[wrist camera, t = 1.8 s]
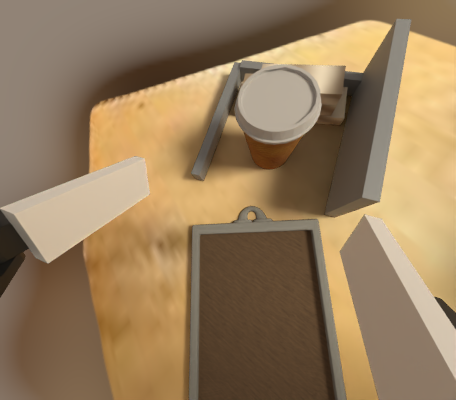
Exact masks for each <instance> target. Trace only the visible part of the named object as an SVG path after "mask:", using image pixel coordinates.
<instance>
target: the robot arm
mask: <svg viewBox="0 0 456 400" xmlns="http://www.w3.org/2000/svg"><path fill="white" fill-rule="evenodd" d="M148 195H150V190H149V184H148V177H147V170H146V164H145V159H144V158H141V157H137V156H134V157H131V158H129V159H126V160H124V161H121V162H118V163H116V164H113V165H111V166H108V167H105V168H103V169H100V170H98V171H95V172H92V173H90V174H87V175H85V176H82V177H79V178H77V179H74V180H72V181H69V182H67V183H64V184H61V185H59V186H56V187H53V188H51V189H49V190H46V191H43V192H41V193H38V194H35V195H33V196H30V197H27V198H25V199H22V200H20V201H17V202H15V203H12V204H9V205H7V206H4V207H1V208H0V297H1V295H2V294H3V293H4V291H5V289H6V288H7V286H8V285H9V283H10V281H11V280H12V278H13V277H14V275H15V274H16V272H17V270H18V269H19V267H20V266H21V264H22V262H23V261H24V259H25V254H24V253H23V252H24V251H25V250H27V249H30V251H31V252H32V253H33V255H34V256H35V258H37V259H39V260H41V261H43V262H46V263H49V262H51V261H52V260H54V259H55V258H57V257H58V256H60V255H61V254H62V253H64V252H66V251H67V250H69V249H70V248H71V247H73V246H75V245H76V244H78V243H79V242H80V241H82V240H83V239H85V238H86V237H88V236H89V235H91V234H92V233H94V232H95V231H97V230H98V229H100V228H101V227H102V226H104V225H105V224H107V223H108V222H110V221H111V220H113V219H114V218H116V217H117V216H119V215H120V214H122V213H123V212H125V211H126V210H127V209H129V208H130V207H132V206H133V205H135V204H136V203H138V202H139V201H141V200H142V199H144V198H145V197H147V196H148ZM340 255H341V258H342V262H343V266H344V270H345V274H346V277H347V281H348V285H349V289H350V292H351V296H352V300H353V304H354V308H355V311H356V315H357V319H358V323H359V326H360V330H361V334H362V338H363V341H364V345H365V349H366V353H367V357H368V360H369V364H370V368H371V372H372V375H373V379H374V383H375V387H376V391H377V394H378V398H379V400H456V313H455V312H454V311H453V310H452V309H451V308H450V307H449V306H448V305H447V304H446V303H445V302H444V301H443V300H442V299H440V298H437V297H434V296H433V295H432V293H431V292H430V290H429V289H428V287H427V286H426V284H425V283H424V281H423V280H422V278H421V277H420V275H419V274H418V272H417V271H416V269H415V268H414V266H413V265H412V264H411V262H410V261H409V259H408V258H407V256H406V255H405V253H404V252H403V250H402V249H401V247H400V246H399V244H398V243H397V241H396V240H395V238H394V237H393V235H392V234H391V232H390V231H389V229H388V228H387V226H386V225H385V223H384V222H383V220H382V219H380V218H376V217H372V216H369V215H365V214H364V216H363V217H362V219H361V220H360V222H359V223H358V225H357V226H356V228H355V229H354V231H353V232H352V234H351V235H350V237H349V238H348V240H347V241H346V243H345V244H344V246H343V247H342V249H341V250H340Z"/></svg>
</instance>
